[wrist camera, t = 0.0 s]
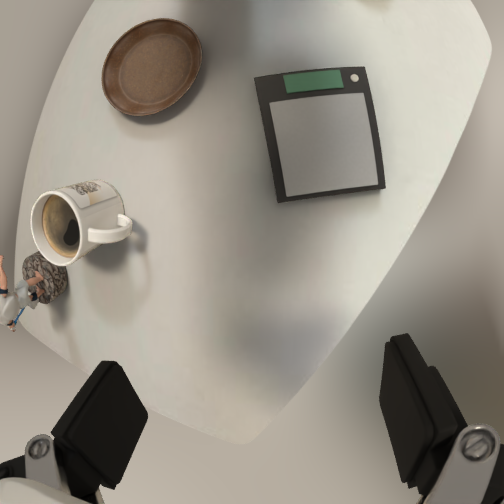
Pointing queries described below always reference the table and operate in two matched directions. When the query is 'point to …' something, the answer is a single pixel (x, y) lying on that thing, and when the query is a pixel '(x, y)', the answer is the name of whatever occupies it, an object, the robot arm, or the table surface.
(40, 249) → the mug
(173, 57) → the saucer
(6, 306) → the figurine
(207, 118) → the table surface
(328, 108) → the scale
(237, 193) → the table surface
